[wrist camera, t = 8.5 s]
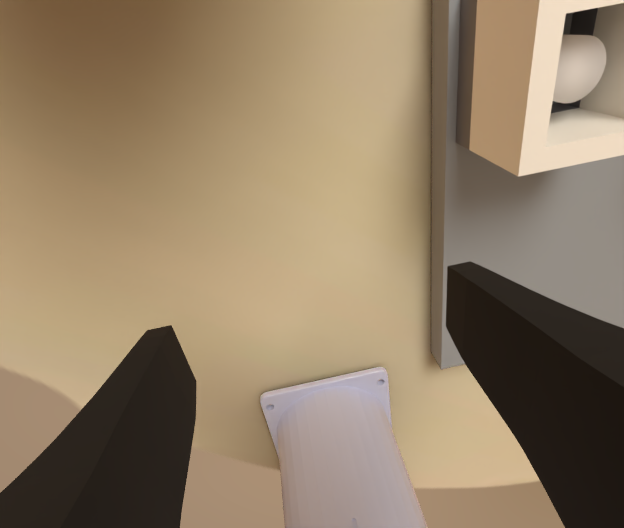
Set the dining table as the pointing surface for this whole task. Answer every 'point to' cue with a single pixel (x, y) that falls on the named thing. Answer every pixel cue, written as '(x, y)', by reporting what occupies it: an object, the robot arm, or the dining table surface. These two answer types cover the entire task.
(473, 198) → the pin board
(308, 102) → the dining table surface
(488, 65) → the sleeve
